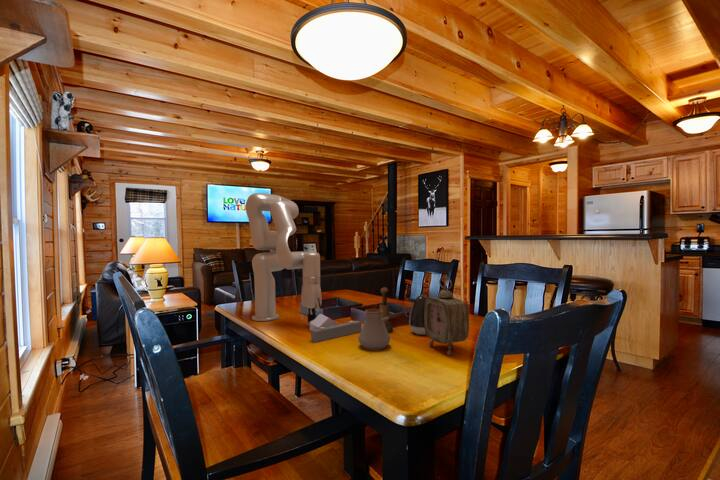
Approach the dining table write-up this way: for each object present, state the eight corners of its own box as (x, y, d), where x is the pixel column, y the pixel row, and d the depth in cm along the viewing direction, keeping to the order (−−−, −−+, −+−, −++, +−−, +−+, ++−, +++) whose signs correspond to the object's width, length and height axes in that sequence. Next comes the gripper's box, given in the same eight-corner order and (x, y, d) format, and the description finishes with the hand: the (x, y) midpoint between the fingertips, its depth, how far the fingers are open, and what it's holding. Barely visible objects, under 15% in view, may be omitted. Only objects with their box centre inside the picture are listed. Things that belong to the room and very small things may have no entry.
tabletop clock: (424, 345, 125) (423, 275, 124) (445, 342, 128) (444, 274, 128) (448, 358, 111) (448, 280, 111) (471, 354, 115) (471, 278, 114)
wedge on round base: (339, 332, 142) (326, 325, 153) (338, 316, 142) (325, 310, 153) (318, 336, 137) (306, 328, 149) (318, 319, 137) (306, 312, 149)
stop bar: (311, 340, 131) (310, 328, 131) (356, 330, 145) (356, 319, 145) (315, 342, 129) (315, 330, 129) (361, 331, 143) (361, 320, 143)
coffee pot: (351, 346, 124) (350, 304, 124) (373, 339, 132) (373, 300, 132) (398, 361, 109) (397, 313, 109) (419, 352, 117) (419, 308, 117)
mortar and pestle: (374, 332, 142) (374, 288, 142) (379, 328, 148) (379, 285, 148) (390, 333, 139) (389, 288, 139) (394, 329, 145) (394, 286, 145)
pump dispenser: (404, 331, 143) (404, 294, 143) (427, 328, 146) (426, 292, 146) (415, 337, 134) (415, 298, 133) (439, 335, 137) (439, 296, 137)
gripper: (295, 280, 155) (295, 321, 155) (313, 283, 143) (313, 328, 144) (310, 278, 160) (310, 318, 160) (328, 281, 148) (328, 324, 148)
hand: (312, 322), depth 152 cm, fingers closed
